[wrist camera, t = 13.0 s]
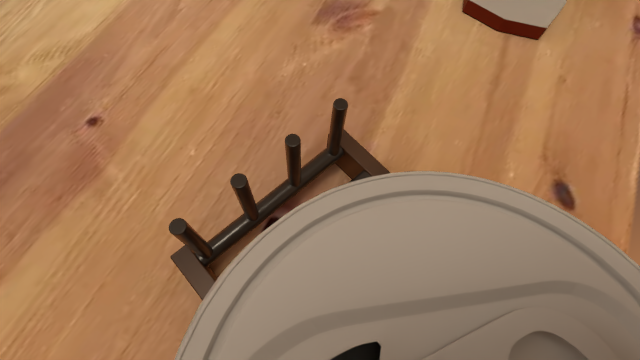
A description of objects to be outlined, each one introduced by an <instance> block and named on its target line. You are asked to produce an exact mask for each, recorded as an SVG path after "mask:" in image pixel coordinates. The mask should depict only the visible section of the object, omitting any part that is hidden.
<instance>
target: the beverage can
mask: <svg viewBox="0 0 640 360" xmlns="http://www.w3.org/2000/svg"><path fill="white" fill-rule="evenodd" d="M175 360H640V266H639V265H638V264H637V263H636V262H635V261H633V260H632V259H631V258H630V257H629V256H628V255H626V254H625V253H624V252H623V251H622V250H621V249H619V248H618V247H617V246H616V245H615V244H613V243H612V242H611V241H610V240H608V239H607V238H606V237H604V236H603V235H601V234H600V233H599V232H597V231H596V230H594V229H593V228H591V227H590V226H588V225H587V224H585V223H584V222H582V221H581V220H579V219H577V218H576V217H574V216H572V215H571V214H569V213H568V212H566V211H564V210H562V209H560V208H558V207H557V206H555V205H553V204H551V203H549V202H547V201H545V200H543V199H540V198H538V197H536V196H534V195H532V194H529V193H527V192H524V191H522V190H519V189H516V188H514V187H511V186H508V185H505V184H502V183H498V182H495V181H492V180H488V179H484V178H479V177H474V176H470V175H464V174H456V173H449V172H434V171H409V172H399V173H389V174H384V175H378V176H373V177H368V178H364V179H361V180H357V181H353V182H350V183H347V184H344V185H341V186H338V187H336V188H333V189H331V190H328V191H326V192H324V193H322V194H320V195H318V196H316V197H314V198H312V199H310V200H308V201H306V202H304V203H303V204H301V205H299V206H298V207H296V208H294V209H293V210H291V211H290V212H289V213H287V214H286V215H284V216H283V217H282V218H280V219H279V220H278V221H276V222H275V223H274V224H272V225H271V226H270V227H268V228H267V229H266V230H264V231H263V232H262V233H261V234H259V235H258V236H257V237H256V238H254V239H253V240H252V241H251V242H250V243H249V244H248V245H247V246H246V247H245V248H244V249H243V250H242V251H241V252H240V253H239V254H238V255H237V256H236V257H235V258H234V259H233V260H232V261H231V262H230V264H229V265H228V266H227V267H226V268H225V269H224V271H223V272H222V273H221V275H220V276H219V277H218V279H217V280H216V282H215V283H214V284H213V286H212V287H211V289H210V290H209V292H208V293H207V295H206V296H205V298H204V299H203V301H202V302H201V304H200V305H199V307H198V309H197V311H196V313H195V315H194V317H193V319H192V321H191V323H190V325H189V327H188V329H187V331H186V333H185V335H184V337H183V340H182V342H181V344H180V347H179V349H178V352H177V354H176V357H175Z"/></svg>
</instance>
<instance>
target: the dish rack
mask: <svg viewBox="0 0 640 360" xmlns="http://www.w3.org/2000/svg"><path fill="white" fill-rule="evenodd" d="M347 108H348V103H347V101H346V100H344V99H342V98H339V99H336V100H335V101H334V103H333V110H332V118H331V125H330V133H329V134H328V141H327V148H326V149H325V150H323V151H322V152H321V153H320V154H318V155H317V156H316V157H315V158H313V159H312V160H311V161H310V162H308V163H307V164H306V165H304V166H303V167H302V168H301V143H300V138H299V136H298V135H296V134H290V135H288V136H287V137H286V138H285V148H286V160H287V171H288V179H287V180H285V181H284V182H283V183H282V184H280V185H279V186H278V187H277V188H275V189H274V190H273V191H272V192H270V193H269V194H268V195H266V196H265V197H264V198H263V199H261V200H260V201H259V202H258V203H255V200H254V198H253V195H252V192H251V189H250V186H249V183H248V180H247V178H246V176H245V175H243V174H235V175H234V176H233V177H232V178H231V181H230V182H231V185H232V188H233V190H234V192H235V194H236V196H237V198H238V200H239V203H240V205H241V207H242V209H243V211H244V214H242V215H241V216H240V217H239V218H237V219H236V220H235V221H234V222H232V223H231V224H230V225H228V226H227V227H226V228H225V229H223V230H222V231H221V232H220V233H218V234H217V235H216V236H215V237H213V238H212V239H211V240H209V241H208V242H206V241H205V240H204V239H203V238H202V237H201V236H200V235H199V234H198V233H197V232H196V231H195V230H194V229H193V228H192V227H191V226H190V225H189V224H188V223H187V222H186V221H185V220H184V219H181V218H178V219H175V220H173V221H172V222H171V223H170V225H169V231H170V233H171V234H173V235H174V236H175V237H176V238H178V239H179V240H180V241H181V242H183V243H184V244H185V246H183V247H182V248H181V249H180V250H178V251H177V252H176V253H174V254H173V255H172V256H171V259H172V260H173V262H174V263H175V264H176V266H177V267H178V268H179V270H180V271H181V272H182V274H183V275H184V276H185V278H186V279H187V280H188V282H189V283H190V284H191V286H192V287H193V288H194V290H195V291H196V292H197V294H198V295H199V296H200V298H201V299H202V300H203V299H204V298H205V296H206V295H207V293H208V292H209V290H210V289H211V287H212V286H213V284H214V283H215V282H216V280H217V279H218V278H217V276H216V275H215V274H214V273H213V271H212V270H211V269H210V267H209V265H210V264H211V263H212V262H214V261H215V260H216V259H217V258H219V257H220V256H221V255H222V254H223V253H225V252H226V251H227V250H228V249H230V248H231V247H232V246H233V245H234V244H236V243H237V242H238V241H239V240H241V239H242V238H243V237H244V236H246V235H247V234H248V233H249V232H250V231H252V230H253V229H254V228H255V227H257V226H258V225H259V224H260V223H261V222H263V221H264V220H265V219H266V218H268V217H269V216H270V215H271V214H273V213H274V212H275V211H276V210H277V209H279V208H280V207H281V206H282V205H284V204H285V203H286V202H287V201H288V200H290V199H291V198H292V197H293V196H295V195H296V194H297V193H298V192H300V191H301V190H302V189H303V188H304V187H306V186H307V185H308V184H309V183H311V182H312V181H313V180H314V179H315V178H317V177H318V176H319V175H320V174H322V173H323V172H324V171H325V170H327V169H328V168H329V167H330V166H331V165H333V164H334V163H336V164H337V165H338V166H339V167H340V168H341V169H342V170H343V171H344V172H345V173H346V174H347V175H348V176H349V177H350V178H351V179H352V180H351V181H350V182H353V181H357V180H361V179H364V178H368V177H373V176H378V175H384V174H389V173H390V172H389V171H388V170H387V169H386V168H385V167H384V166H383V165H381V164H380V163H379V162H378V161H377V160H376V159H375V158H374V157H373V156H372V155H371V154H370V153H369V152H368V151H366V150H365V149H364V148H363V147H362V146H361V145H360V144H359V143H358V142H357V141H356V140H355V139H354V138H353V137H351V136H350V135H349V134H348V133H347V132H346V131H345V130H344V129H343V128H344V123H345V118H346V113H347ZM350 182H349V183H350Z"/></svg>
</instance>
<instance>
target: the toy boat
mask: <svg viewBox="0 0 640 360" xmlns="http://www.w3.org/2000/svg"><path fill="white" fill-rule="evenodd" d="M566 1H567V0H464V3H463V12H465V13H467V14H468V15H470V16H472V17H474V18H476V19H477V20H479V21H481V22H483V23H485V24H486V25H488V26H490V27H492V28H494V29H495V30H497V31H501V32H506V33H511V34H515V35H520V36H524V37H529V38H534V39H539V37H540V36H541V35H542V34H543V32H544V31H545V30H546V28H547V27H548V26H549V25H550V24H551V22H552V21H553V20H554V19H555V17H556V16H557V15H558V14H559V12H560V11H561V10H562V8H563V7H564V5H565V4H566Z"/></svg>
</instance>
